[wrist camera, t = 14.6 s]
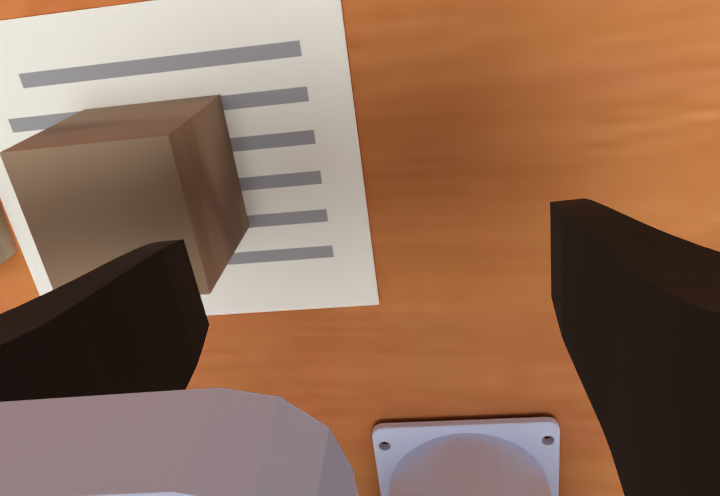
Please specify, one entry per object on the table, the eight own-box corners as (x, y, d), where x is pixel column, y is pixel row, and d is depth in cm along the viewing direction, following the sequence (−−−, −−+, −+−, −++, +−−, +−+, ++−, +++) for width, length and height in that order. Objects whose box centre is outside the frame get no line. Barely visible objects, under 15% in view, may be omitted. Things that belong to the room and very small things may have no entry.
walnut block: (249, 226, 23) (210, 294, 19) (124, 236, 24) (58, 304, 20) (220, 94, 21) (168, 135, 17) (84, 109, 22) (-1, 152, 17)
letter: (379, 302, 25) (379, 304, 24) (53, 323, 26) (51, 325, 26) (337, -24, 19) (337, -24, 19) (-65, 29, 21) (-68, 29, 21)
